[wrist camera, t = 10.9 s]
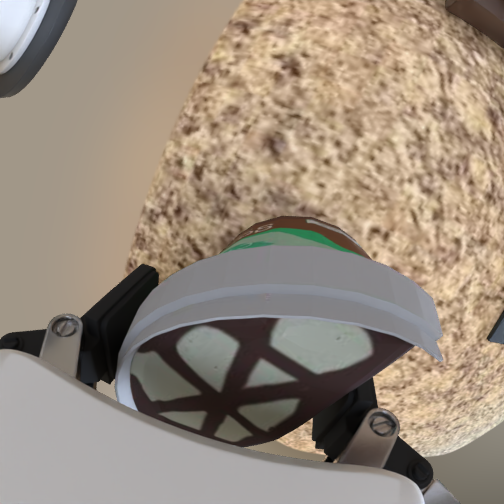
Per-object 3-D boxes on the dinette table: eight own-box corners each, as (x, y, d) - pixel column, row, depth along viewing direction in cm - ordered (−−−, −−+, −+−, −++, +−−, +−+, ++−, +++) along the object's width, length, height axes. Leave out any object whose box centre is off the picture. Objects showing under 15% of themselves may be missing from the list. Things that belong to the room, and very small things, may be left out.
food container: (283, 141, 13) (235, 131, 4) (373, 219, 14) (461, 345, 4) (165, 297, 18) (78, 406, 9) (237, 350, 18) (191, 477, 9)
